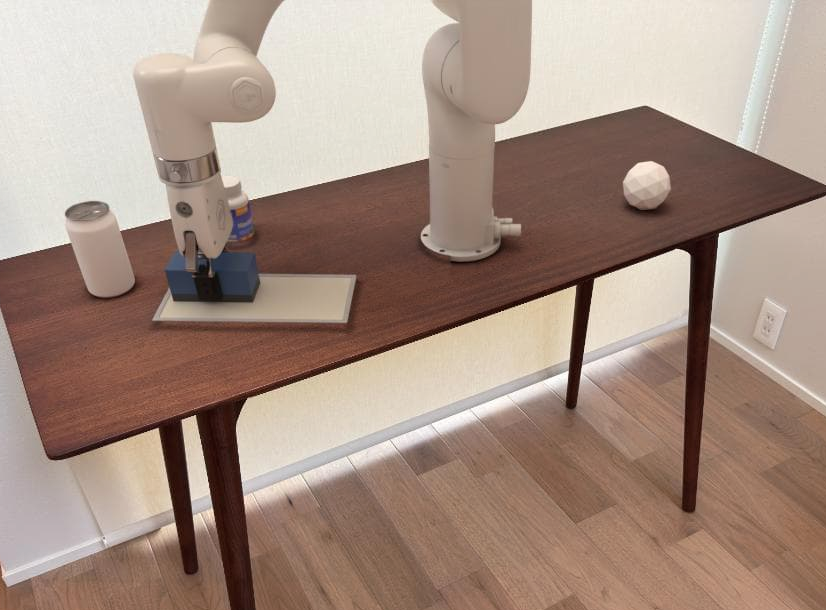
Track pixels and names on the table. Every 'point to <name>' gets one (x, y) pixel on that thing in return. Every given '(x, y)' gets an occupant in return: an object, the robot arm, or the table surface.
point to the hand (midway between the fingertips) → (216, 286)
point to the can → (99, 249)
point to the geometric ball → (646, 185)
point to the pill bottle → (238, 210)
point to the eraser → (232, 271)
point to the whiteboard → (273, 302)
